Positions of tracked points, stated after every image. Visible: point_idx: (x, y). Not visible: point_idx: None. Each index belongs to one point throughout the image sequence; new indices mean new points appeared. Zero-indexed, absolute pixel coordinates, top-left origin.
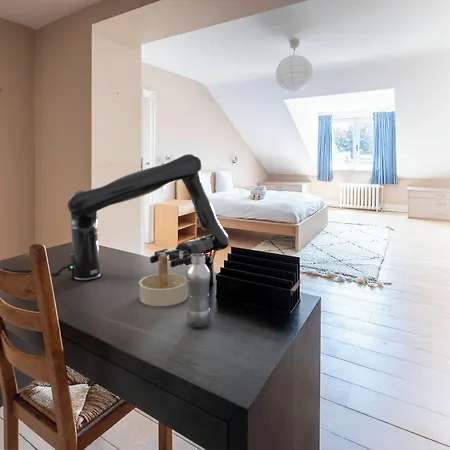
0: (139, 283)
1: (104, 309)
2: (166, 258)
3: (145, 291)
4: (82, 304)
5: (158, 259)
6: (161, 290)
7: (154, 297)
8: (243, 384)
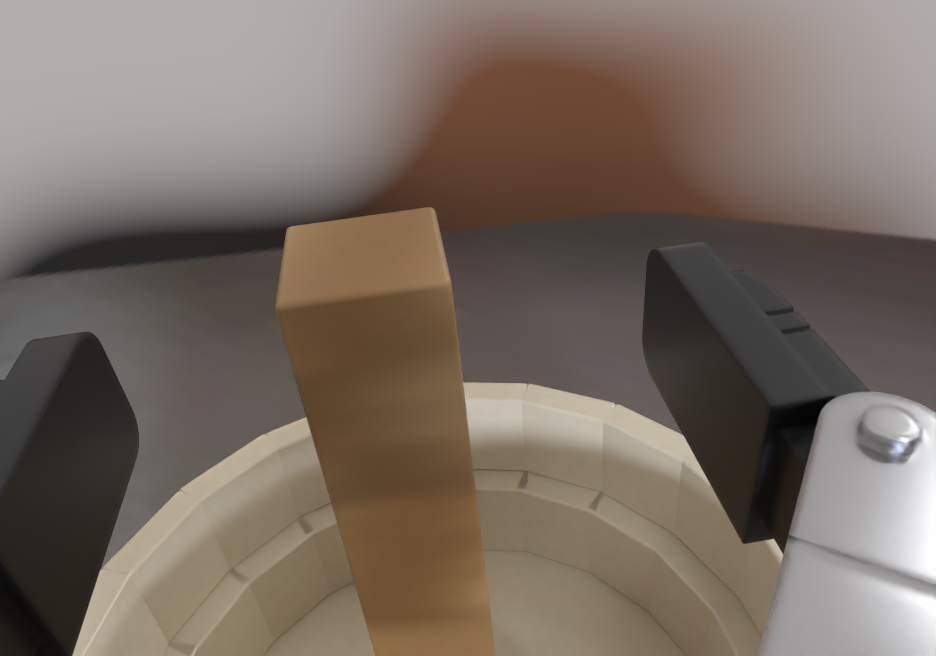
0: (598, 402)
1: (636, 335)
2: (292, 355)
3: None
4: (820, 291)
5: (731, 481)
6: (237, 459)
7: None
8: None
